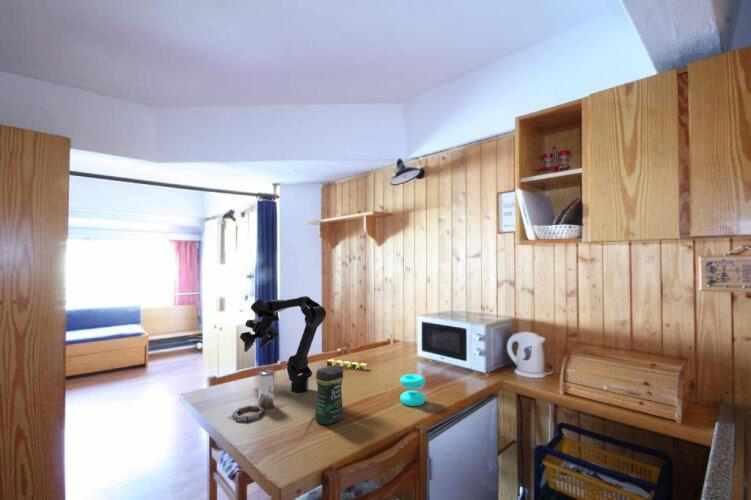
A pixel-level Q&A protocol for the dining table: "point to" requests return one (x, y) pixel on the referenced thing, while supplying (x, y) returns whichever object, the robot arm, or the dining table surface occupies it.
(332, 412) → the coffee jar
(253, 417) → the ring collar
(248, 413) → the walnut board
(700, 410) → the dining table surface
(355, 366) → the yellow segmented block row
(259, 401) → the cylinder
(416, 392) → the donuts
